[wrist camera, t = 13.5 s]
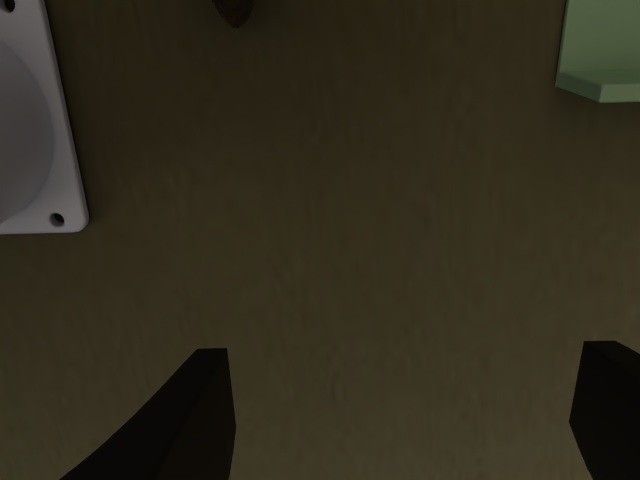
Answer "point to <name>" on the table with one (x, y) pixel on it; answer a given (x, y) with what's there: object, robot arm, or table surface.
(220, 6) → the hand tool
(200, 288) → the table surface
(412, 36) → the table surface
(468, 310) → the table surface
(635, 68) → the dustpan
